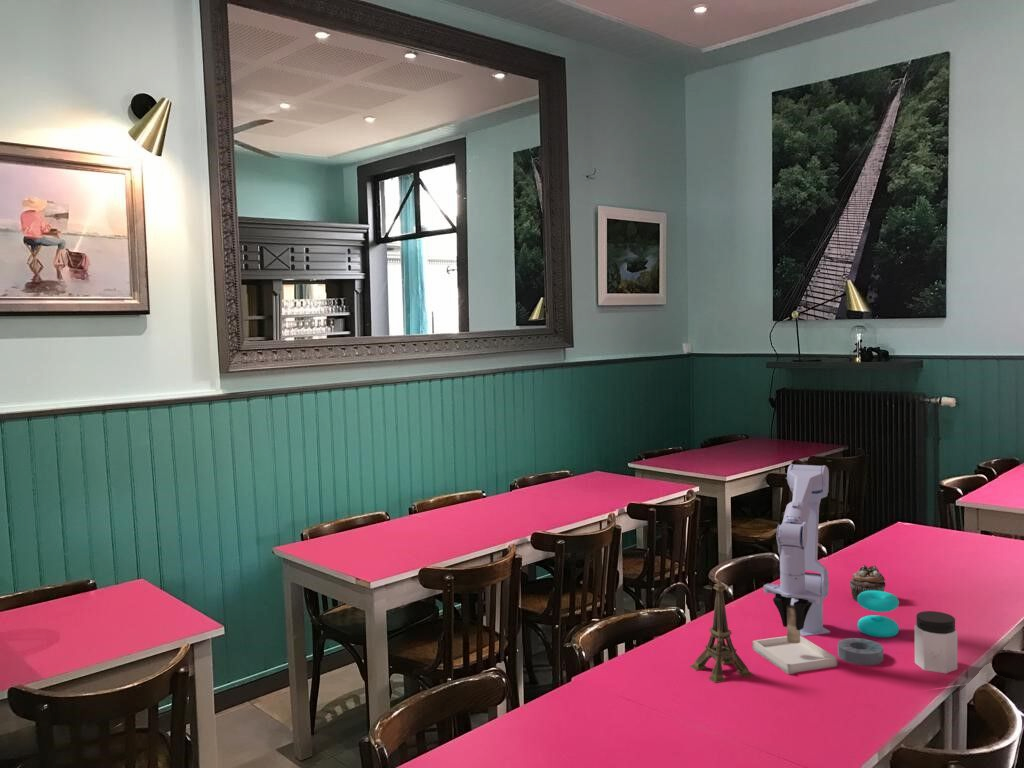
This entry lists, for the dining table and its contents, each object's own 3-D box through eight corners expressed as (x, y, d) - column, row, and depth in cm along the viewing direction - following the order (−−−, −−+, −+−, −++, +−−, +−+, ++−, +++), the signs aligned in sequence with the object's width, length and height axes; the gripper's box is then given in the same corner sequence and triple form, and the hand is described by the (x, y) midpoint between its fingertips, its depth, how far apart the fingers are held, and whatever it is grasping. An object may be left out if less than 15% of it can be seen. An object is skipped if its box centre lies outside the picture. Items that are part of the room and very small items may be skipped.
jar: (913, 670, 194) (913, 619, 193) (916, 657, 201) (915, 608, 201) (956, 676, 190) (956, 625, 189) (957, 663, 197) (957, 613, 196)
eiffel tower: (689, 666, 201) (687, 564, 199) (726, 659, 205) (724, 559, 203) (715, 683, 191) (713, 576, 189) (753, 675, 195) (751, 570, 193)
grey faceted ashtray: (829, 652, 206) (829, 641, 206) (864, 647, 208) (864, 636, 208) (855, 668, 196) (855, 656, 196) (892, 662, 199) (892, 650, 198)
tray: (752, 649, 210) (752, 640, 210) (798, 643, 213) (798, 634, 213) (788, 674, 194) (788, 664, 194) (837, 667, 197) (837, 657, 197)
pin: (784, 639, 204) (784, 605, 204) (796, 638, 205) (795, 604, 204) (790, 643, 202) (790, 609, 201) (802, 642, 202) (801, 608, 202)
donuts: (853, 588, 224) (893, 589, 222) (854, 624, 224) (893, 626, 222) (861, 600, 214) (903, 601, 212) (861, 638, 215) (903, 640, 212)
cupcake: (878, 594, 248) (878, 561, 248) (890, 605, 239) (889, 570, 238) (845, 594, 249) (845, 561, 249) (855, 605, 240) (855, 570, 239)
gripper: (756, 570, 205) (757, 624, 205) (813, 581, 194) (813, 638, 195) (771, 564, 210) (772, 617, 210) (827, 575, 199) (827, 630, 200)
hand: (793, 627), depth 203 cm, fingers closed on pin, 3 cm apart
